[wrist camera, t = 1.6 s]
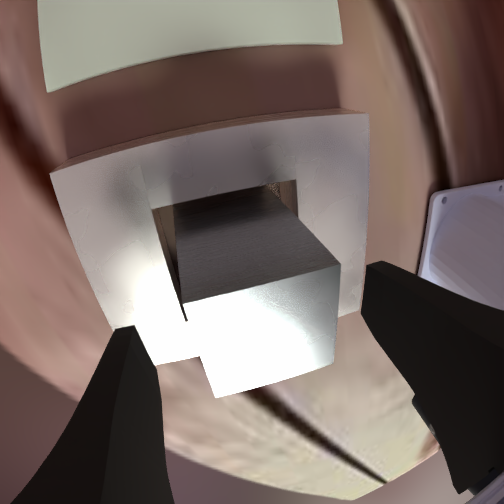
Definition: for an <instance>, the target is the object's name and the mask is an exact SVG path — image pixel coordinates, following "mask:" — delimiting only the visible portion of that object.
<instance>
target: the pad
mask: <svg viewBox="0 0 504 504" xmlns="http://www.w3.org/2000/svg"><path fill="white" fill-rule="evenodd" d="M37 2H38V22H39V35H40V46H41V55H42V63H43V70H44V77H45V83H46V89H47V92H53V91H56V90H59V89H61V88H64V87H67V86H69V85H72V84H75V83H78V82H81V81H84V80H87V79H90V78H93V77H96V76H99V75H102V74H106V73H109V72H113V71H116V70H120V69H123V68H127V67H131V66H135V65H139V64H143V63H147V62H152V61H156V60H161V59H166V58H171V57H176V56H182V55H187V54H193V53H200V52H207V51H214V50H222V49H231V48H241V47H253V46H268V45H301V44H310V45H340V44H343V40H342V31H341V23H340V16H339V9H338V2H337V0H37Z"/></svg>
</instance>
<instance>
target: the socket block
mask: <svg viewBox="0 0 504 504" xmlns="http://www.w3.org/2000/svg"><path fill="white" fill-rule="evenodd" d="M50 177H51V180H52V183H53V187H54V190H55V193H56V196H57V199H58V202H59V205H60V208H61V211H62V214H63V217H64V220H65V223H66V225H67V228H68V231H69V233H70V236H71V239H72V241H73V244H74V246H75V249H76V252H77V254H78V256H79V259H80V261H81V264H82V266H83V268H84V271H85V273H86V275H87V278H88V280H89V282H90V284H91V287H92V289H93V291H94V293H95V295H96V297H97V300H98V302H99V304H100V306H101V308H102V310H103V312H104V314H105V316H106V318H107V320H108V322H109V324H110V326H111V328H112V330H113V332H114V331H115V329H117V328H122V327H126V326H131V325H135V327H136V329H137V331H138V333H139V335H140V337H141V339H142V341H143V343H144V345H145V348H146V350H147V352H148V354H149V356H150V357H151V359H152V361H153V363H154V365H157V364H162V363H167V362H172V361H177V360H182V359H186V358H191V357H195V356H200V354H199V351H198V348H197V345H196V342H195V340H194V337H193V334H192V331H191V328H190V325H189V322H188V319H187V316H186V313H185V310H184V307H183V302H182V294H181V290H180V287H179V284H178V280H177V277H176V274H175V270H174V267H173V263H172V260H171V256H170V253H169V249H168V246H167V242H166V239H165V235H164V231H163V227H162V224H161V220H160V216H159V212H158V208H159V207H163V206H167V205H172V204H176V203H180V202H185V201H189V200H193V199H198V198H202V197H207V196H212V195H216V194H221V193H226V192H231V191H236V190H241V189H246V188H251V187H256V186H261V185H266V184H272V183H277V182H279V189H280V200H281V201H282V202H283V203H284V204H285V205H286V206H287V207H288V208H289V209H290V210H291V211H292V212H293V213H294V214H295V215H296V216H297V217H298V219H299V220H300V221H301V222H302V223H303V224H304V225H305V226H306V227H307V228H308V229H309V230H310V231H311V232H312V233H313V234H314V235H315V236H316V237H317V239H318V240H319V241H320V242H321V243H322V244H323V245H324V246H325V247H326V248H327V249H328V250H329V251H330V252H331V254H332V255H333V256H334V257H335V258H336V259H337V260H338V261H339V262H340V263H341V277H340V293H339V307H338V317H340V316H343V315H346V314H349V313H352V312H355V311H358V310H359V307H360V299H361V291H362V282H363V272H364V261H365V250H366V237H367V221H368V201H369V113H365V112H360V111H355V110H350V109H344V108H331V109H316V110H304V111H293V112H283V113H274V114H266V115H258V116H251V117H244V118H237V119H231V120H225V121H219V122H213V123H207V124H202V125H197V126H192V127H187V128H182V129H177V130H173V131H168V132H164V133H159V134H155V135H151V136H147V137H143V138H139V139H135V140H131V141H127V142H124V143H120V144H116V145H113V146H109V147H106V148H102V149H99V150H96V151H93V152H89V153H86V154H83V155H80V156H77V157H74V158H71V159H68V160H66V161H65V162H63V163H62V164H61V165H60V166H58V167H57V168H56V169H55V170H53V171H52V172H51V173H50Z"/></svg>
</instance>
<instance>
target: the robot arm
mask: <svg viewBox="0 0 504 504" xmlns="http://www.w3.org/2000/svg"><path fill="white" fill-rule="evenodd" d="M361 315H362V317H363V318H364V320H365V322H366V324H367V326H368V328H369V329H370V331H371V333H372V334H373V336H374V338H375V339H376V341H377V342H378V343H379V345H380V346H381V347H382V349H383V350H384V352H385V353H386V354H387V356H388V357H389V358H390V360H391V361H392V362H393V364H394V365H395V366H396V368H397V369H398V370H399V372H400V373H401V374H402V376H403V377H404V378H405V380H406V381H407V382H408V384H409V385H410V387H411V388H412V390H413V391H414V393H415V395H416V396H417V398H418V400H419V402H420V404H421V406H422V407H423V409H424V411H425V413H426V415H427V417H428V419H429V421H430V423H431V425H432V427H433V430H434V432H435V434H436V436H437V439H438V441H439V444H440V446H441V449H442V451H443V454H444V456H445V459H446V462H447V465H448V469H449V471H450V475H451V479H452V482H453V486H454V488H455V489H456V491H457V493H458V494H461V493H462V492H464V491H465V490H467V489H468V488H470V487H471V486H473V485H474V484H476V483H477V482H479V481H480V480H482V479H483V478H484V477H486V476H487V475H488V474H490V473H491V472H492V471H493V470H494V469H496V471H497V472H498V474H499V476H498V477H497V478H496V479H494V480H493V481H492V482H491V483H490V484H489V485H488V486H486V487H485V488H484V489H483V490H482V491H480V492H479V493H478V494H477V495H475V496H474V497H473V498H472V499H470V500H469V501H468V502H466V503H465V504H504V180H499V181H493V182H488V183H482V184H476V185H471V186H465V187H460V188H454V189H449V190H443V191H438V192H435V193H433V194H432V196H431V198H430V204H429V212H428V219H427V226H426V232H425V238H424V244H423V250H422V256H421V261H420V266H419V271H418V276H417V275H415V274H413V273H411V272H408V271H406V270H404V269H402V268H400V267H397V266H395V265H393V264H390V263H387V262H385V261H379V262H375V263H372V264H369V265H366V275H365V284H364V292H363V300H362V308H361ZM11 504H174V500H173V496H172V491H171V487H170V483H169V479H168V474H167V468H166V459H165V446H164V432H163V416H162V399H161V393H160V386H159V380H158V374H157V369H156V367H155V365H154V363H153V361H152V359H151V357H150V356H149V354H148V352H147V350H146V348H145V345H144V343H143V341H142V339H141V337H140V335H139V333H138V331H137V329H136V327H135V325H131V326H126V327H122V328H117V329H115V331H114V332H113V334H112V336H111V338H110V340H109V342H108V345H107V347H106V349H105V351H104V353H103V355H102V357H101V359H100V361H99V364H98V366H97V368H96V370H95V372H94V374H93V376H92V378H91V380H90V382H89V384H88V387H87V389H86V391H85V393H84V395H83V396H82V398H81V400H80V402H79V404H78V406H77V408H76V410H75V412H74V414H73V416H72V418H71V419H70V421H69V423H68V425H67V426H66V428H65V430H64V432H63V433H62V435H61V436H60V438H59V440H58V441H57V443H56V445H55V446H54V448H53V449H52V451H51V452H50V454H49V455H48V456H47V458H46V459H45V461H44V462H43V463H42V465H41V466H40V468H39V469H38V471H37V472H36V474H35V475H34V476H33V477H32V479H31V480H30V481H29V483H28V484H27V485H26V486H25V487H24V489H23V490H22V491H21V493H19V494H18V496H17V497H16V498H15V499H14V500H13V501H12V503H11Z"/></svg>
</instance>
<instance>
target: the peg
mask: <svg viewBox="0 0 504 504" xmlns="http://www.w3.org/2000/svg"><path fill="white" fill-rule="evenodd" d="M173 212H174V225H175V236H176V247H177V258H178V268H179V277H180V286H181V294H182V302H183V307H184V310H185V313H186V316H187V319H188V322H189V325H190V328H191V331H192V334H193V337H194V340H195V342H196V345H197V348H198V351H199V354H200V357H201V359H202V362H203V365H204V368H205V370H206V373H207V376H208V379H209V381H210V384H211V386H212V389H213V392H214V394H215V397H216V398H217V397H221V396H225V395H229V394H233V393H237V392H241V391H245V390H249V389H253V388H256V387H260V386H264V385H267V384H271V383H274V382H277V381H281V380H284V379H287V378H291V377H294V376H297V375H300V374H303V373H306V372H309V371H312V370H315V369H318V368H321V367H324V366H327V365H330V364H333V361H334V352H335V342H336V331H337V320H338V307H339V293H340V277H341V263H340V262H339V261H338V260H337V259H336V258H335V257H334V256H333V255H332V254H331V252H330V251H329V250H328V249H327V248H326V247H325V246H324V245H323V244H322V243H321V242H320V241H319V240H318V239H317V237H316V236H315V235H314V234H313V233H312V232H311V231H310V230H309V229H308V228H307V227H306V226H305V225H304V224H303V223H302V222H301V221H300V220H299V219H298V217H297V216H296V215H295V214H294V213H293V212H292V211H291V210H290V209H289V208H288V207H287V206H286V205H285V204H284V203H283V202H282V201H281V200H280V199H279V198H278V197H277V196H276V195H275V194H274V193H273V192H272V191H271V190H270V189H269V188H268V187H267V186H266V185H261V186H256V187H251V188H246V189H241V190H236V191H231V192H226V193H221V194H216V195H212V196H207V197H202V198H198V199H193V200H189V201H185V202H180V203H176V204H173Z"/></svg>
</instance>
